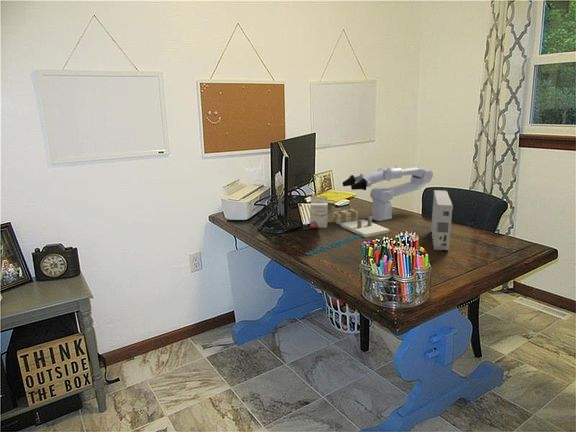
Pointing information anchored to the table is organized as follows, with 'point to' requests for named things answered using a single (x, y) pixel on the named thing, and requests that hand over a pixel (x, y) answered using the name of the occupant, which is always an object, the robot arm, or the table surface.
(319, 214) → the ink cartridge box
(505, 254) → the table surface
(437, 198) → the game console
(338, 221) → the block
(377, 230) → the pin board
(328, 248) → the nameplate
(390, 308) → the table surface
